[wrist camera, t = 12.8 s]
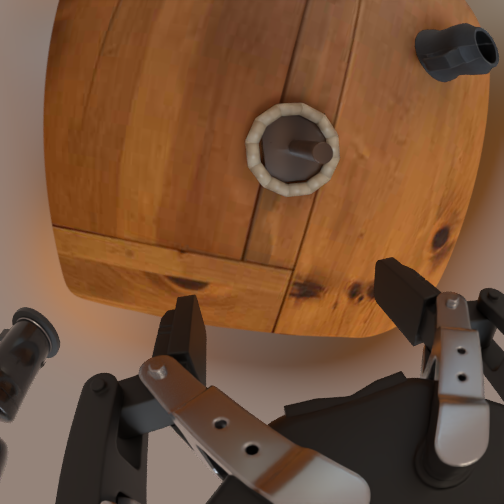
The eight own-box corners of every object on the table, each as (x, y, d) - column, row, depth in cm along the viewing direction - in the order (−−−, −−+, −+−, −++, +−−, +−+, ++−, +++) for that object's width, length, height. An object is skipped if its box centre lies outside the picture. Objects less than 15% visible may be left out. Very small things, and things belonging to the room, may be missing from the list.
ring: (251, 199, 34) (252, 202, 32) (240, 107, 29) (241, 106, 28) (338, 189, 34) (343, 192, 33) (332, 102, 30) (336, 101, 28)
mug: (437, 24, 26) (483, 11, 15) (463, 72, 29) (512, 70, 19) (393, 42, 27) (443, 24, 17) (424, 96, 31) (478, 95, 20)
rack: (266, 183, 34) (283, 202, 25) (257, 118, 31) (272, 111, 22) (327, 176, 34) (364, 192, 25) (322, 114, 31) (359, 108, 22)
